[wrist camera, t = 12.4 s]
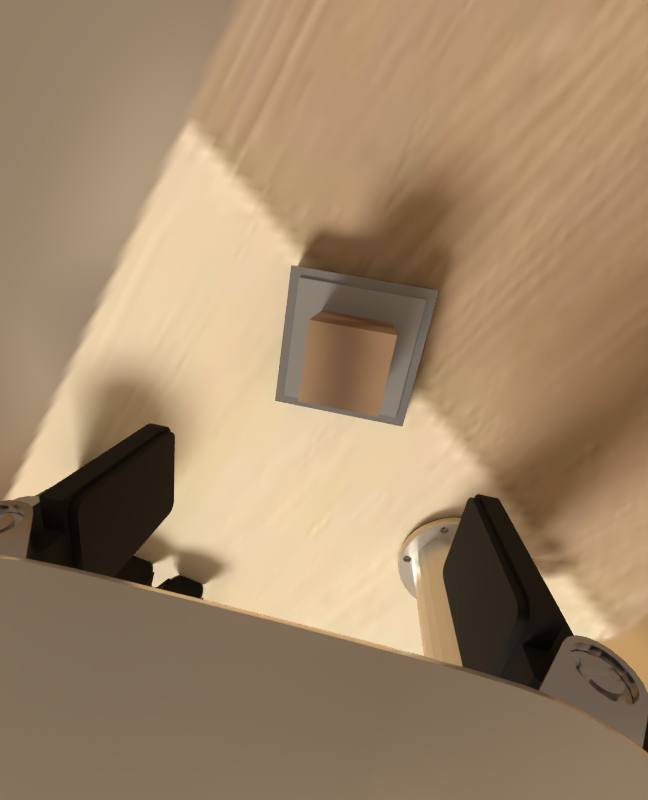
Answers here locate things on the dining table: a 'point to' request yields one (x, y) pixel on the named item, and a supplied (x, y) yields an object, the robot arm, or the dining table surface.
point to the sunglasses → (143, 575)
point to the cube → (346, 362)
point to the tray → (362, 300)
